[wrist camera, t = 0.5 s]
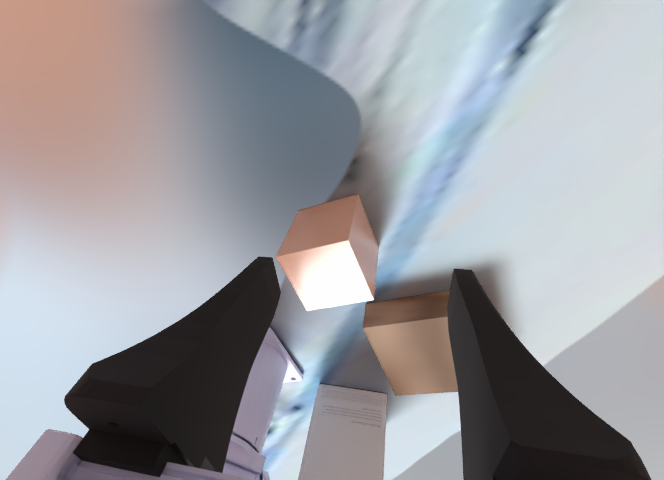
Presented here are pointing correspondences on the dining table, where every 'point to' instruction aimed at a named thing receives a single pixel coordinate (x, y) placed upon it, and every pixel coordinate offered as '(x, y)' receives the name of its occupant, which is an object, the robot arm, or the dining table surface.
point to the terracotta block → (331, 254)
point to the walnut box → (413, 343)
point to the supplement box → (345, 435)
